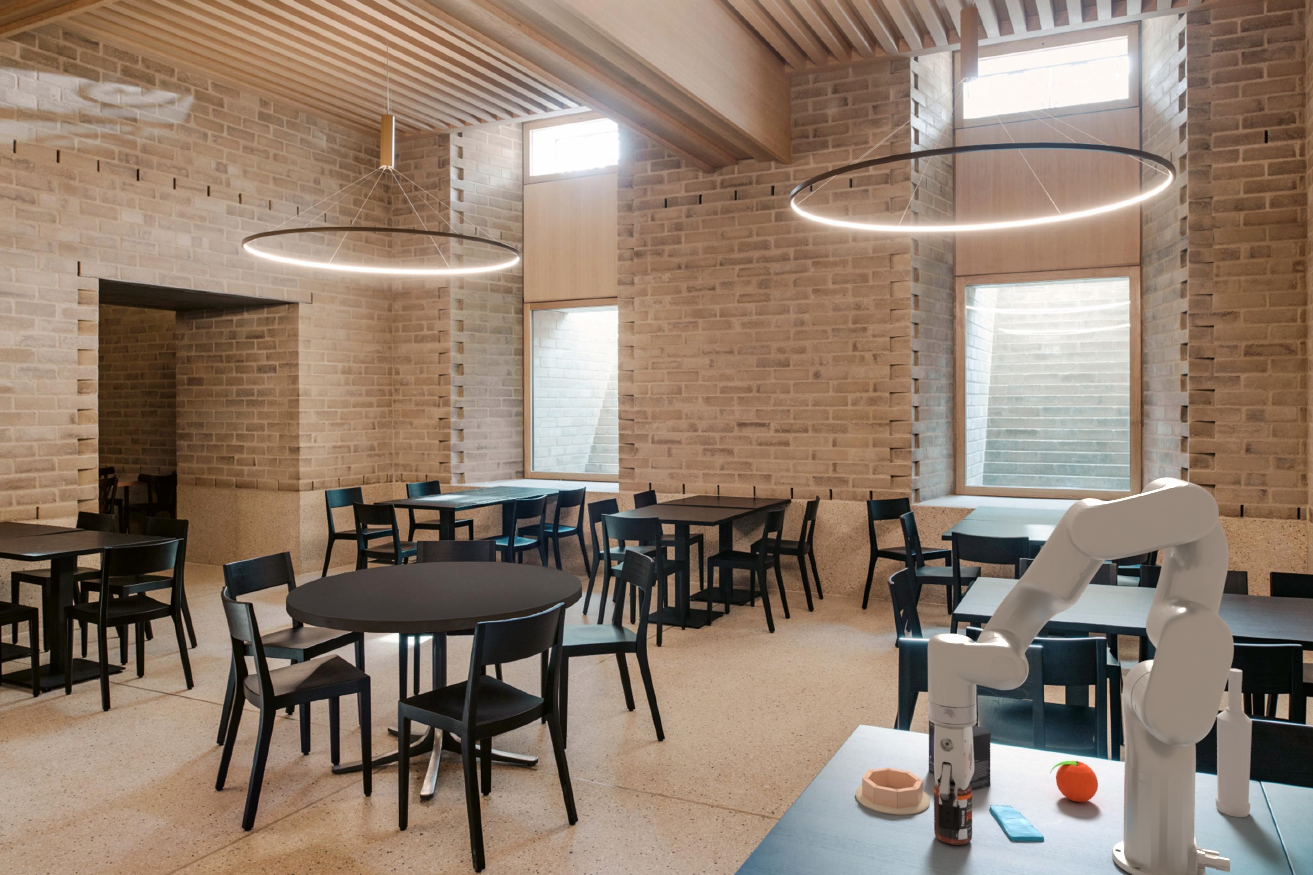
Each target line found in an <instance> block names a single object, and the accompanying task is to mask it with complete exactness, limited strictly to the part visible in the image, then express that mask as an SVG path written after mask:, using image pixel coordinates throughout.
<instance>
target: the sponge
mask: <svg viewBox="0 0 1313 875" xmlns="http://www.w3.org/2000/svg"><path fill="white" fill-rule="evenodd" d="M988 810H989V813H990V814H991V816H992V817H993V818H994V819H995V821H996V822H997V824H998V825H999V826H1000V827H1001V829H1002V830H1003V832H1004V833H1005V835H1006V836H1007V837H1008V839H1009V840H1010V841H1013V842H1014V841H1015V842H1045V837H1044V835H1043V834H1042V833H1041V832H1040V831H1039V830H1037V828H1035V827H1034V825H1033V824H1032V823H1031V822H1030V821H1029V820H1028V818H1026V817H1025V816H1024V815H1023V814H1022V813H1021V812H1020V811H1019V810H1017V809H1016V808H1013V807H1012V806H1011V805H1009V804H1008V805H1007V804H1004V805H997V804H996V805H995V804H994V805H992V804H991V805H989V809H988Z"/></svg>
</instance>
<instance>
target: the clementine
mask: <svg viewBox="0 0 1313 875" xmlns="http://www.w3.org/2000/svg"><path fill="white" fill-rule="evenodd" d="M1056 767H1058V769H1057V771H1056V774H1055V781H1056V786H1057V789H1058V790H1059V792H1060V793H1061V794H1062V795H1063V796H1064V797H1065V798H1066V799H1067V800H1070V801H1073V802H1076V803H1079V802H1080V803H1084V802H1087V801H1090V800H1091V799H1093V797H1095V795H1096V794H1097V791H1098V787H1099V783H1098V778H1097V775H1096V772H1094V770H1093V769H1092V768H1091V766H1089V765H1087V764H1086V763H1084V762H1082V761H1078V760H1065V761H1064V760H1063V761H1061V762H1059V763H1057V764H1056V765H1055V764H1054V766H1053V767H1052V768H1051V770H1050V773H1049V774H1051V773H1052V772H1053V770H1054V769H1055V768H1056Z"/></svg>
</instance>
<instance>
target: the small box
mask: <svg viewBox="0 0 1313 875" xmlns="http://www.w3.org/2000/svg"><path fill="white" fill-rule="evenodd" d="M972 731H973V750H974V773H973V776H972V778H971V781H970V783H969V784H970V786H971V788H972V791H975V790H979V789H983V788H988V787H991V782H992V781H991V737H992V733H991V731H990V730H988V729H986V728H983V727H981V726H979V725H976V724H975V725H974V726H972ZM934 734H935V724H934V723H932V722H931V721H930V720H929V719H928V772H930V773H932V774H933V775H934Z"/></svg>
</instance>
